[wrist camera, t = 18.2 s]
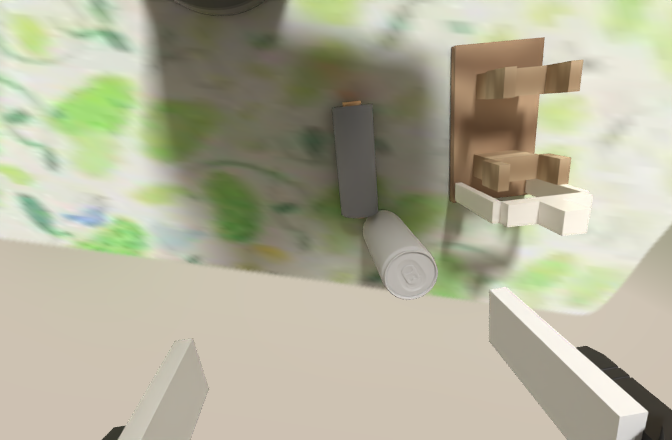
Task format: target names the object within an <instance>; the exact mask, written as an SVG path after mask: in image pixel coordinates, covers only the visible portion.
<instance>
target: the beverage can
mask: <svg viewBox="0 0 672 440" xmlns="http://www.w3.org/2000/svg"><path fill="white" fill-rule="evenodd" d="M363 237H364V240H365V242H366V245H367V247H368V249H369V252H370V254H371V256H372V259H373V261H374V263H375V266H376V268H377V270H378V273H379V275H380V277H381V280H382V282H383V284H384V286H385V287H386V288H387V289H388V291H389V292H390V293H391V294H392V295H394V296H395V297H398V298H400V299H406V300H411V299H417V298H419V297H422V296H424V295H425V294H426V293H428V292H429V291H430V290H431V289H432V288H433V286H434V284H435V282H436V280H437V276H438V269H437V266H436V263H435V260H434V258H433V256H432V255H431V254H430V252H429V251H428V250H427V249H426V248H425V246H424V245H423V244H422V243H421V242H420V241H419V240H418V239H417V237H416V236H415V235H414V234H413V233H412V232H411V231H410V230H409V228H408V227H407V226H406V225H405V224H404V222H403V221H402V220H401V219H400V218H399V217H398V216H397V215H396V214H394V213H393V212H390V211H387V210H379V211H378V213H377V214H375V215H373V216H370V217H368V218H367V219H366V220H365V223H364V225H363Z"/></svg>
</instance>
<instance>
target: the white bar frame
mask: <svg viewBox="0 0 672 440" xmlns="http://www.w3.org/2000/svg"><path fill="white" fill-rule="evenodd" d="M525 193H527V194H530V195H532V196H535V198H526V199H517V200H509V201H499V200H497V199H495V198H493V197H491V196H489V195H487V194H485V193H482V192H480V191H478V190H476V189H474V188H472V187H470V186H468V185H466V184H464V183H462V182H461V183H455V201H456V202H458V203H460V204H461V205H463V206H464V207H466V208H468V209H469V210H471V211H472V212H474V213H476V214H477V215H479V216H480V217H482V218H484V219H485V220H487V221H488V222H490V223H492V224H495V223H501V224H502V225H504V226H506V227H514V226H523V225H531V224H539V225H541V226H543V227H545V228H547V229H549V230H551V231H553V232H555V233H557V234H559V235H561V236H566V235H575V234H583V233H587V228H588V221H589V218H590V212H591V206H592V199H593V195H590V191H588V190H584V189H581V188H577V187H574V186H570V185H567V184H563V185H555V184H552V183H549V182H546V181H542V180H539V179H530V180H526V188H525Z"/></svg>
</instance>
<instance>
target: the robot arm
mask: <svg viewBox="0 0 672 440" xmlns="http://www.w3.org/2000/svg"><path fill="white" fill-rule="evenodd" d="M174 1H175V2H177V3H178V4H180V5H182V6H184V7H186V8H188V9H191V10H193V11H196V12H200V13H203V14H208V15H220V16H222V15H233V14H238V13H242V12H245V11H247V10H250V9H252V8H254V7H256V6H257V5H259V4H261V3H262V2H263V1H265V0H174ZM489 342H490V343H491V344H492V346H493V347H494V348H495V349H496V351H497V352H498V353H499V354H500V355H501V357H502V358H503V359H504V361H505V362H506V363H507V364H508V366H509V367H510V368H511V369H512V371H513V372H514V373H515V375H516V376H517V377H518V378H519V380H520V381H521V382H522V383H523V385H524V386H525V387H526V388H527V390H528V391H529V392H530V393H531V395H532V396H533V397H534V398H535V400H536V401H537V402H538V404H539V405H540V406H541V407H542V409H543V410H544V411H545V412H546V414H547V415H548V416H549V417H550V419H551V420H552V421H553V422H554V424H555V425H556V426H557V427H558V429H559V430H560V431H561V433H562V434H563V435H564V436H565V438H566V439H567V440H672V410H671V409H669V407H667V406H666V405H665V404H664V403H662V402H661V401H660V400H659V399H658V398H656V397H655V396H654V395H653V394H651V393H650V392H649V391H648V390H646V389H645V388H644V387H643V386H642V385H640V384H639V383H638V382H637V381H636V380H634V379H633V378H630V377H629V375H628V374H627V373H626V372H625V371H623V370H622V369H621V368H618V366H617V365H616V364H615V363H613V362H612V361H611V360H610V359H609V358H607V357H606V356H605V355H604V354H602V353H600V352H597V351H596V350H593V349H592V348H590V347H588V346H583V347H577V348H575V347H574V346H573V345H572V344H570V343H569V342H568V341H567V340H566V339H565V338H564V337H563V336H562V335H560V334H559V333H558V332H557V331H556V330H555V329H554V328H552V327H551V326H550V325H549V324H548V323H547V322H545V321H544V320H543V319H542V318H541V317H540V316H539V315H538V314H536V313H535V312H534V311H533V310H532V309H531V308H530V307H529V306H527V305H526V304H525V303H524V302H523V301H522V300H521V299H519V298H518V297H517V296H516V295H515V294H514V293H513V292H511V291H510V290H509V289H508V288H507V287H503V288H497V289H491V290H489ZM208 390H209V388H208V385H207V381H206V378H205V375H204V372H203V369H202V366H201V362H200V359H199V356H198V353H197V350H196V347H195V344H194V340H193V338H191V339H184V340H178V341H175V342H174V344H173V345H172V347H171V349H170V350H169V352H168V354H167V356H166V357H165V359H164V361H163V363H162V364H161V366H160V368H159V370H158V371H157V373H156V375H155V376H154V378H153V380H152V382H151V383H150V385H149V387H148V389H147V390H146V392H145V394H144V395H143V397H142V399H141V401H140V402H139V404H138V406H137V408H136V409H135V411H134V413H133V414H132V416H131V418H130V419H129V421H128V423H127V425H126V426H121V427H115V428H113V429H112V430H111V431H110V432H109V433H108V434H107V435H106V436H105V437H104V438H103V439H102V440H191V437H192V434H193V431H194V429H195V426H196V423H197V420H198V417H199V414H200V412H201V409H202V406H203V403H204V401H205V398H206V395H207V392H208Z"/></svg>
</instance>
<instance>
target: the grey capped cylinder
mask: <svg viewBox="0 0 672 440" xmlns="http://www.w3.org/2000/svg"><path fill="white" fill-rule="evenodd" d="M332 116H333V126H334V137H335V148H336V159H337V170H338V181H339V192H340V203H341V214H342V215H343V216H344V217H348V218H365V217H370V216H373V215H375V214H377V213H378V196H377V178H376V160H375V142H374V124H373V106H372V104H365V105H361V101H351V102H343V107H334V108H332Z"/></svg>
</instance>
